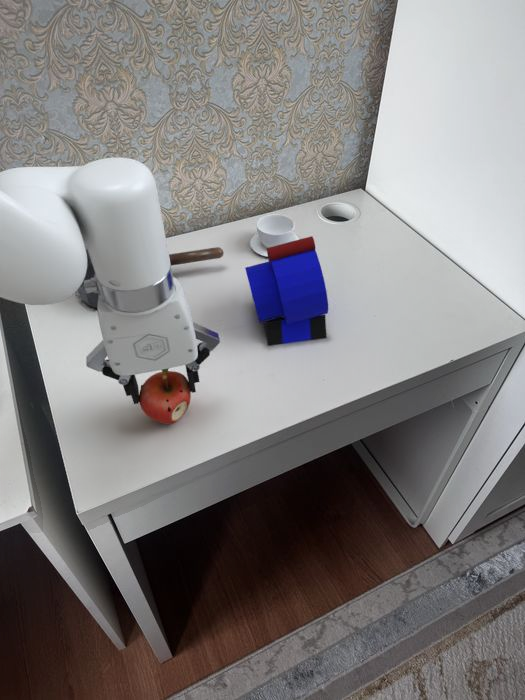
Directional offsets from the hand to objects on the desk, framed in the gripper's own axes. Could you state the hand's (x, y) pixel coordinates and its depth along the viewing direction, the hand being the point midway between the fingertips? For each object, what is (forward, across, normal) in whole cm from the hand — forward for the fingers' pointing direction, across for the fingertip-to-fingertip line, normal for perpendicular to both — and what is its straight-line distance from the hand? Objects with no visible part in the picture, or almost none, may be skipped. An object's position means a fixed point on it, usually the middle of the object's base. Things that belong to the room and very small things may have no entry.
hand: (164, 389), depth 63 cm
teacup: (+5, +25, +36) cm, 44 cm away
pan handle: (+3, +8, +31) cm, 32 cm away
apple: (+5, 0, 0) cm, 5 cm away
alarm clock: (+5, +21, +15) cm, 26 cm away
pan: (+5, -5, +31) cm, 32 cm away
